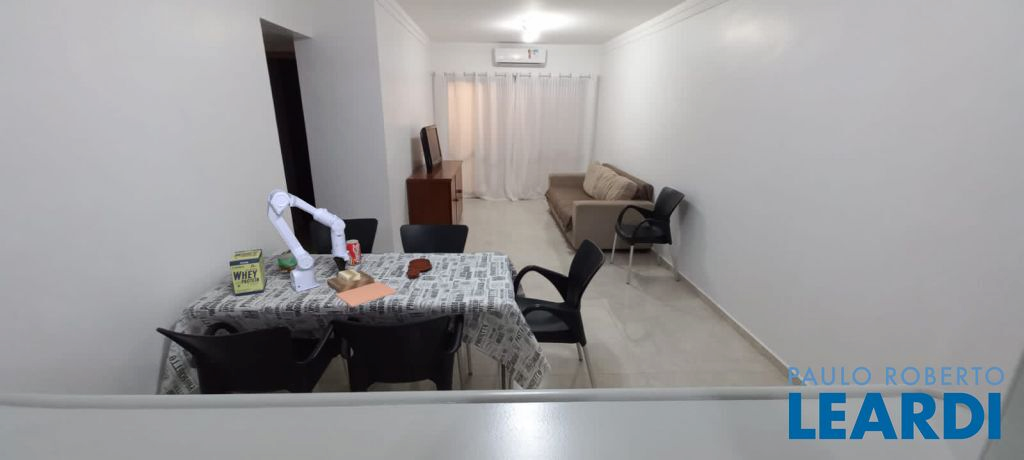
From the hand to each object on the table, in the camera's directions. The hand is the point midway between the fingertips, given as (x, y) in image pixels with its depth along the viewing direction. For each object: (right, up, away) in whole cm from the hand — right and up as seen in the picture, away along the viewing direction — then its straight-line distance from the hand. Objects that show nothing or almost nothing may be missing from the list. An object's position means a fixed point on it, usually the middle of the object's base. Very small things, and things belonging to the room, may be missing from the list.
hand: (342, 271), depth 191 cm
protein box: (-36, -7, -10) cm, 38 cm away
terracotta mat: (+17, -8, -15) cm, 24 cm away
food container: (-29, -1, +11) cm, 31 cm away
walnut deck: (+6, -5, -5) cm, 9 cm away
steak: (+33, -2, +9) cm, 34 cm away
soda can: (-2, +2, +21) cm, 21 cm away
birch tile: (+5, -3, -5) cm, 8 cm away
